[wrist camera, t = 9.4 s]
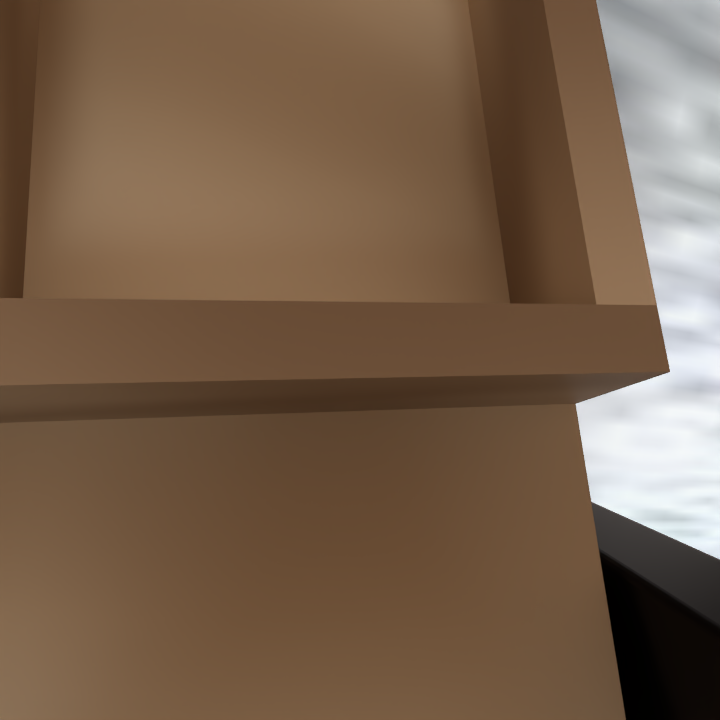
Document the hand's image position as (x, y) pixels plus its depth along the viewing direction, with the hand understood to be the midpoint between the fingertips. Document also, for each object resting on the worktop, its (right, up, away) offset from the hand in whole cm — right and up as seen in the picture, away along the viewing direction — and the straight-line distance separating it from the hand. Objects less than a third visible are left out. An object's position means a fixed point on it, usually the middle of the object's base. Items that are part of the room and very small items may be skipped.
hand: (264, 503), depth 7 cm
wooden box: (-2, -1, +6) cm, 7 cm away
